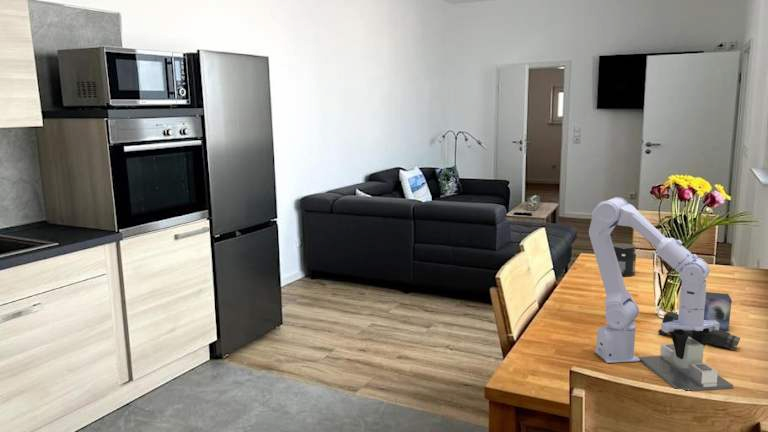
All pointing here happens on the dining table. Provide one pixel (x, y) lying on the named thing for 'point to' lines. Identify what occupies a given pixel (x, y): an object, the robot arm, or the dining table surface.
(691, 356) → the block
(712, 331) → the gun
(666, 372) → the panel
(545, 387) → the dining table surface
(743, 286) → the dining table surface
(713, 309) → the small box
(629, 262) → the supplement container
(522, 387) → the dining table surface
